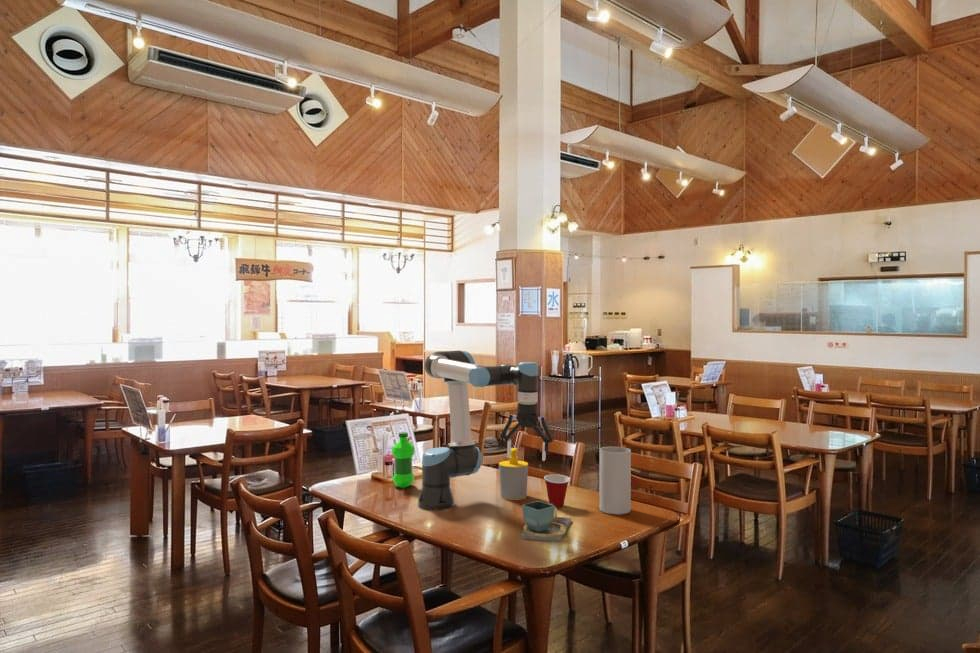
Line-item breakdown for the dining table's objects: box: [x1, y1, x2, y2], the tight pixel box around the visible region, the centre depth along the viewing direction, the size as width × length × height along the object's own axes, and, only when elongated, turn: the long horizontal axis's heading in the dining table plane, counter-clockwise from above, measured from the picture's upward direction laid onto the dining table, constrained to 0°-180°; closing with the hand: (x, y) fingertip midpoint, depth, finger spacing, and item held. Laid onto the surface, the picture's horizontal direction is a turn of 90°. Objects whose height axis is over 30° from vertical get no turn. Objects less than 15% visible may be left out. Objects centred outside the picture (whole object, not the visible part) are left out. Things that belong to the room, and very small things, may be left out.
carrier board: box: [520, 502, 572, 543], centre depth 239 cm, size 15×25×8 cm, turn 164°
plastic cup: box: [543, 474, 571, 509], centre depth 269 cm, size 11×11×12 cm
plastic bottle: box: [391, 431, 416, 489], centre depth 302 cm, size 10×10×25 cm
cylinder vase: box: [598, 446, 632, 516], centre depth 263 cm, size 12×12×25 cm
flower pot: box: [521, 500, 555, 532], centre depth 235 cm, size 9×9×9 cm
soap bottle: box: [498, 447, 529, 501], centre depth 284 cm, size 13×13×21 cm
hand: (526, 458), depth 244 cm, fingers open, 13 cm apart
